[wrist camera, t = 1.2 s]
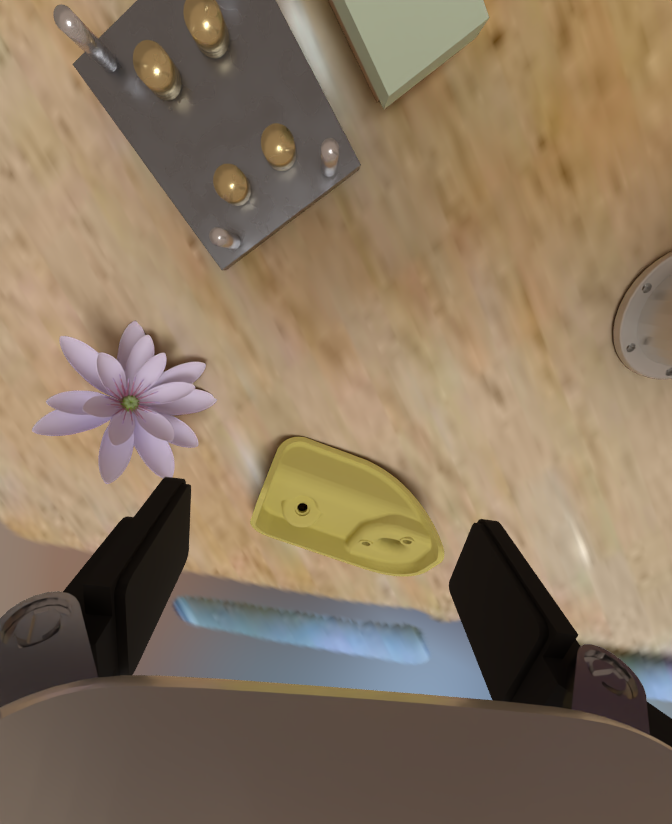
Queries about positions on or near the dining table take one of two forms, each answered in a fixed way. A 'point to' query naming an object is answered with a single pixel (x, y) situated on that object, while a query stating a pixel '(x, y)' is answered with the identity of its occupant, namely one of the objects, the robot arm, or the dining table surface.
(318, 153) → the chassis
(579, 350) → the dining table surface
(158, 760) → the robot arm
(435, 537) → the plastic component
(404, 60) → the board
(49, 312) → the dining table surface
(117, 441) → the water lily
